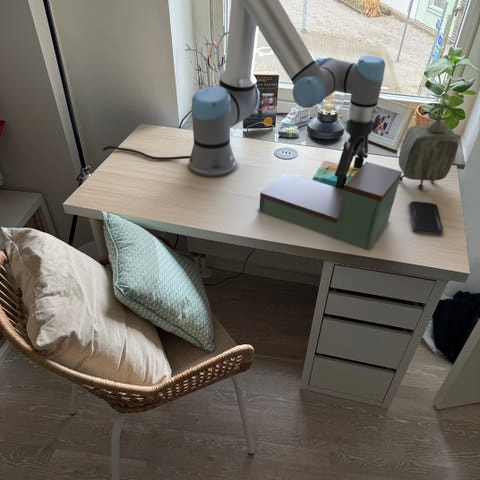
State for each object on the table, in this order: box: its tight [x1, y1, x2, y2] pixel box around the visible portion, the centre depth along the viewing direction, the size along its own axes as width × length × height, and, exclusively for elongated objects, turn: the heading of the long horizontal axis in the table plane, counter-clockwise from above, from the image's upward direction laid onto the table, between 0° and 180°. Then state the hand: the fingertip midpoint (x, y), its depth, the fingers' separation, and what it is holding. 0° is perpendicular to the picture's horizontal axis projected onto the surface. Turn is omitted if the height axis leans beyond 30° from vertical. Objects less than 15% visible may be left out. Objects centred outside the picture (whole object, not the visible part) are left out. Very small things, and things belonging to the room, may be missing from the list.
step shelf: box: [258, 161, 403, 250], centre depth 130 cm, size 34×15×16 cm, turn 58°
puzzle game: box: [312, 160, 360, 187], centre depth 146 cm, size 12×5×20 cm
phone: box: [409, 200, 444, 236], centre depth 135 cm, size 8×1×15 cm
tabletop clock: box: [398, 104, 460, 190], centre depth 140 cm, size 14×9×25 cm, turn 91°
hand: (347, 185), depth 148 cm, fingers open, 13 cm apart
